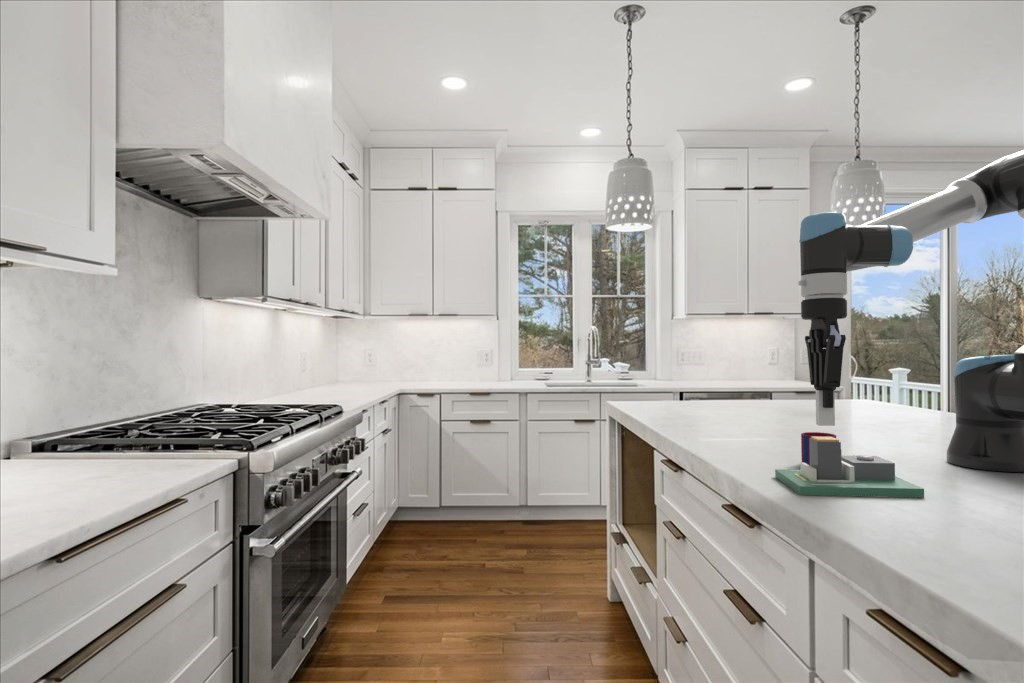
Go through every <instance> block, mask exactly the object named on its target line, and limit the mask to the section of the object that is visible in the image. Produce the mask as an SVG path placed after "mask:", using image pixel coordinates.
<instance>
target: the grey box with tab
mask: <svg viewBox="0 0 1024 683" xmlns="http://www.w3.org/2000/svg"><path fill="white" fill-rule="evenodd" d="M841 457H842V461H844V462H846V463H848V464H850V465H852V466H854V477H855V479H876V480H895V476H896V464H895V462H893V461H890V460H888V459H885V458H882V457H881V456H877V455H863V454H858V455H841Z"/></svg>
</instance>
